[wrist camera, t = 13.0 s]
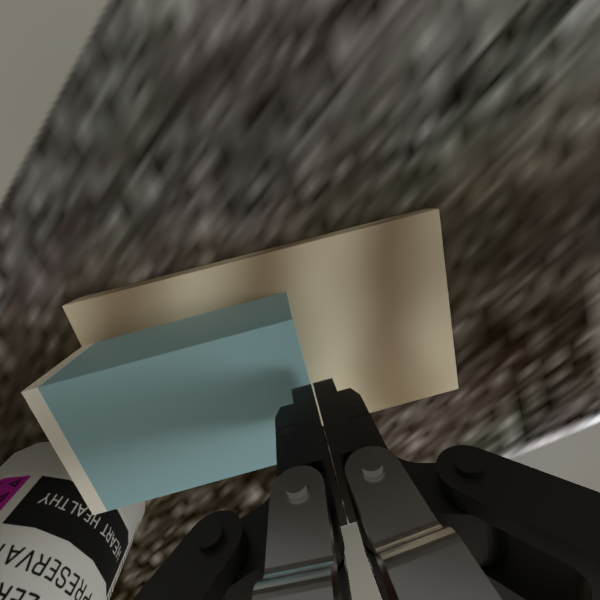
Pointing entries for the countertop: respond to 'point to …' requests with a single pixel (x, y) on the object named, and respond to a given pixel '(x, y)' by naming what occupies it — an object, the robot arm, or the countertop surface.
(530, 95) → the countertop surface
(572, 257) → the countertop surface
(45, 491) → the supplement can
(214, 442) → the block
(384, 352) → the board
